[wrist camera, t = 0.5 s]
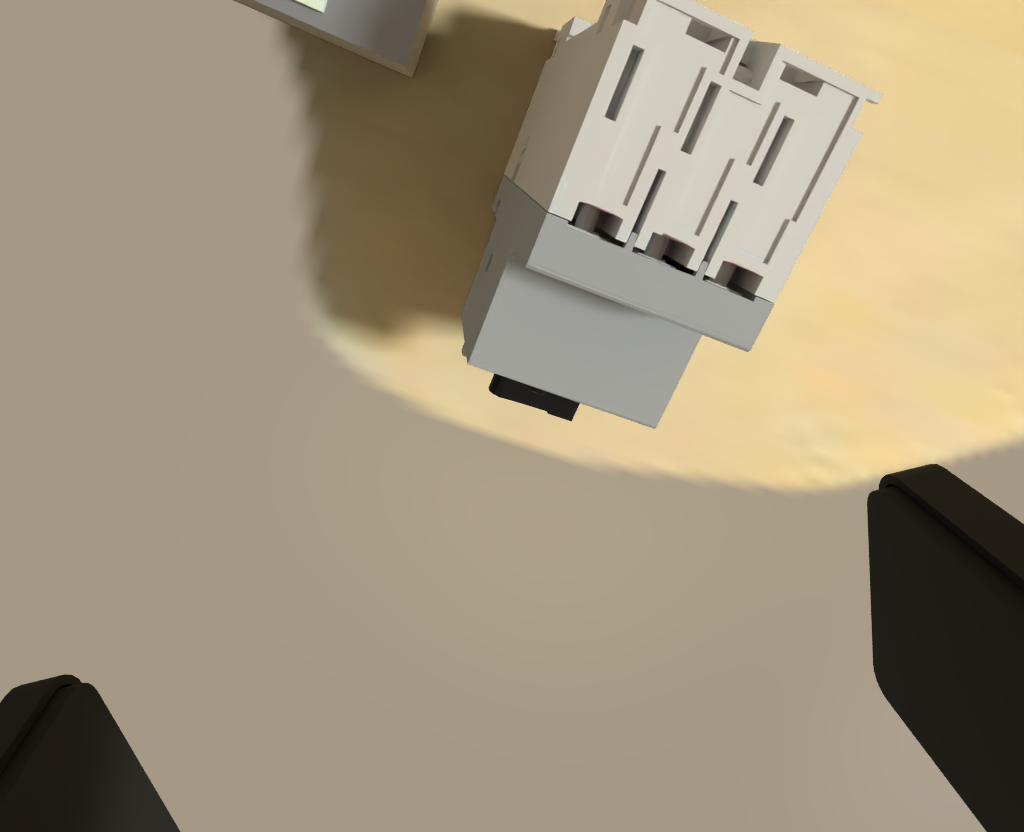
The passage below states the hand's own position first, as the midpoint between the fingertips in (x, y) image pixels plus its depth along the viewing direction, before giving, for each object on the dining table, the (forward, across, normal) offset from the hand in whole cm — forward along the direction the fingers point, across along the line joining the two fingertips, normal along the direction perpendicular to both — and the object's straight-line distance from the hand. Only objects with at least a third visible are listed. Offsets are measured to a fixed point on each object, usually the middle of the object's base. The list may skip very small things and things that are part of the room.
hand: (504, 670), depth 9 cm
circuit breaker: (+29, -6, 0) cm, 30 cm away
